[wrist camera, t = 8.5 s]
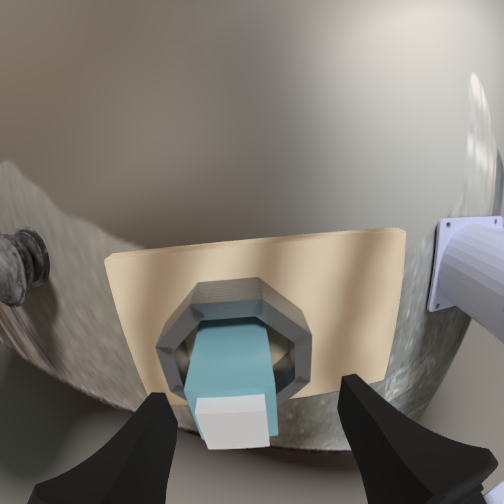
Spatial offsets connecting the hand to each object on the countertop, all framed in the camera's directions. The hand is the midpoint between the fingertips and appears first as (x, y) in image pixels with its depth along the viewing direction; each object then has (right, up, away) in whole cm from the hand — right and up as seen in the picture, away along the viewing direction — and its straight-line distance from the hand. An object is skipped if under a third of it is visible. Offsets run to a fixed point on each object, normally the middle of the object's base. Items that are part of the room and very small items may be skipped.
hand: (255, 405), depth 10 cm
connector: (-1, 0, +8) cm, 8 cm away
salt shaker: (-19, +6, +8) cm, 21 cm away
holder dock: (+1, +1, +10) cm, 10 cm away
